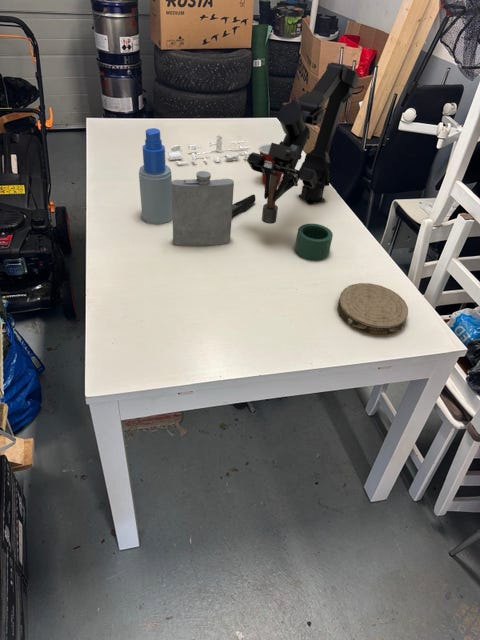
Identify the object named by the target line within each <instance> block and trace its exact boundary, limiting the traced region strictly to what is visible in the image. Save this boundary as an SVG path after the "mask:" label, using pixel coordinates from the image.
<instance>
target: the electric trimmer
mask: <svg viewBox="0 0 480 640" xmlns="http://www.w3.org/2000/svg"><path fill="white" fill-rule="evenodd" d="M254 203H256V195H255V194H250V195H249V196H247V197H245V198H243V199H241V200H239V201H237V202H234V203H233V205H232V217H233V216H234V215H236V214H238V213H239V212H241V211H246V210H247V209H249V208H250V207H251V206H252V205H254Z"/></svg>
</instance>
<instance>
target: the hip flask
mask: <svg viewBox="0 0 480 640" xmlns="http://www.w3.org/2000/svg"><path fill="white" fill-rule="evenodd" d="M195 176H196V178H193V179H191V178H190V179H172V182H171V185H172V219H171V220H172V243H173V244H174V245H175V246H179V247H180V246H181V247H203V246H206V247H207V246H217V245H224V244H229V243H230V242H231V235H232V234H231V233H232V232H231V231H232V219H233V216H232V205H233V204H234V189H235V187H234V186H235V180H233V179H232V178H221V179H220V178H219V179H211V178H212V175H211V173H210V172H209V171H207V170H206V171H205V170H200V171H197V172H196V175H195Z"/></svg>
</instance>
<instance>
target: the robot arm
mask: <svg viewBox="0 0 480 640" xmlns="http://www.w3.org/2000/svg"><path fill="white" fill-rule="evenodd" d="M325 69H326V70H325V71H324V72H323V74H322V75H321V76H320V78H319V79H318V81H317V82H316V83H315V85H314V86H313V88H312V89H311V90H310V91H308V92H305V93H302V94H301V95H300V96H299V97H298V98H297V99H295V98H292V99H291V101H290V102H289V103H288V102H287V103H286V104H284V105H283V106H282V107H281V108H280V109H279V110H278V113H277V118H278V121H279V123H280V126H281V128H282V130H283V133H284V134H285V135H284V138H283V139H282V140H281V141H280V142H279V143H275V142H271V143H270V144H271V147H270V150H269V154H268V156H272V157H271V159H272V160H273V161H274V163H272V162H269V161H267V160H266V158H265V156H264V155H261V154H260V153H258V152H253V151H252V152H251V153H250V155H249V156H248V158H246V162H247V163H248V165H249V167H250V169H251V170H252V171H254V172H257V173H261V174H262V173H264V174H265V184H264V194H263V198H264V199H265V200H267V198H268V190H269V181H270V174H271V173H276V172H279V173H282V176H281V180H280V182H279V184H278V186H277V191H276V193H275V195H274V198H273V202H275V203H276V202H277V201H278V200H279V199H280V198H281V197H282V196H283V195H284V194H285V193H286V192H288V191H289V190H291V189H293V187H298V184H299V183H298V182H299V181H302V184H303V185H302V186H301V193H300V194H298V197H299V198H300V199H301V200H303V201H304V202H305V203H306V204H308V205H314V204H319V203H324V202H326V199H325V198H324V197H323V195H324V191H325V187H329V186H330V183H331V179H332V172H331V170H330V165H331V160H330V156H329V155H330V154H329V151H330V148H331V145H332V142H333V138H334V136H335V133H336V129H337V127H338V122H339V121H340V118H341V117H340V116H341V114H342V110H343V108H344V105H345V103H346V102H347V101H348V100H349V99H350V98H351V97H352V96H353V94H354V91H355V89H357V87H358V84H359V80H360V77H359V74H358V73H357V70H355V69H351V68H349V67H348V66H347V65H345V64H343V63H338V62H333V61H331V62H329V63H328V64H327V65H326V68H325ZM326 103H327V104H326ZM325 104H326V108H325V109H324V107H325ZM319 123H321V124H320V127H319V131H318V134H317V136H316V140H315V144H314V145H313V149H312V150H311V151H309V152H307V153H306V154H305V156H304V161H302V163H301V166H300V167H299V169H296V167H297V165H298V162H299V161H300V160H301V159H302V157H303V156H302V153H303V151H304V149H305V146H306V144H307V142H308V140H310V138H311V130H310V128H309V126H308V125H310V126H314V127H316V126H317V125H318V124H319Z"/></svg>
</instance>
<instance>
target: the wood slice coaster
mask: <svg viewBox="0 0 480 640" xmlns="http://www.w3.org/2000/svg"><path fill="white" fill-rule="evenodd" d="M336 310H337V313H338V317H340V320H341V321H343V323H344V324H346V325H347V326H348V327H349V328H351V329H352V330H353V331H357V332H359V333H361V334H364V335H368V336H374V337H387V336H391V335H395V334H396V333H398V332H399V331H401V330H402V329H403V327H404V326H405V324H406V320H407V318H408V316H409V307H408V305H407V303H406V301H405V300H404V299H403V297H401V295H399V293H396V292H395V291H394V290H392V289H390V288H388V287H385V286H383V285H379V284H375V283H371V282H370V283H368V282H367V283H366V282H360V283H355V284H354V283H353V284H351V285H348V286H347V287H345V288H344V289H343V290H342V291H341V293H340V294H339V297H338V302H337V307H336Z"/></svg>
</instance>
